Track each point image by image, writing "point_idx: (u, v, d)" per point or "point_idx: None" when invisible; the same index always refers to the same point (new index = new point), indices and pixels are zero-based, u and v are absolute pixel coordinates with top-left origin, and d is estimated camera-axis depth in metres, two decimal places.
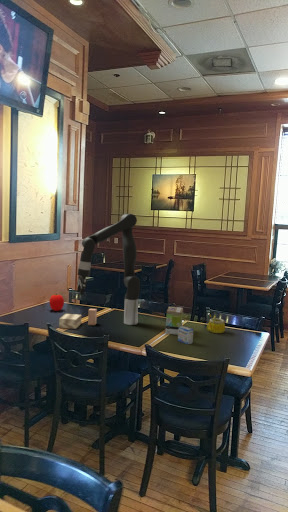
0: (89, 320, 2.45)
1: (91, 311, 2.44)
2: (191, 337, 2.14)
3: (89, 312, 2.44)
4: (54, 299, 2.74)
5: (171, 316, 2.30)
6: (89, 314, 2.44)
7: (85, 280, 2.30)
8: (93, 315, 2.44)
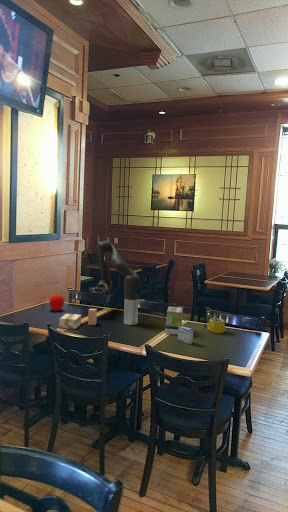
0: (89, 320, 2.45)
1: (91, 311, 2.44)
2: (191, 337, 2.14)
3: (89, 312, 2.44)
4: (54, 299, 2.74)
5: (171, 316, 2.30)
6: (89, 314, 2.44)
7: None
8: (93, 315, 2.44)
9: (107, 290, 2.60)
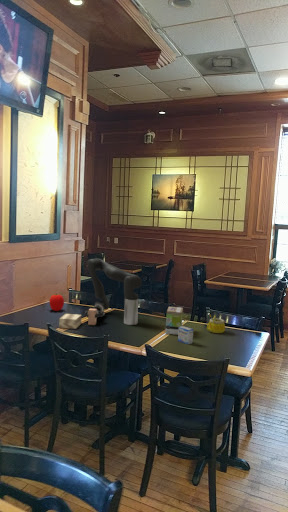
0: (89, 320, 2.45)
1: (91, 311, 2.44)
2: (191, 337, 2.14)
3: (89, 312, 2.44)
4: (54, 299, 2.74)
5: (171, 316, 2.30)
6: (89, 314, 2.44)
7: (85, 312, 2.53)
8: (93, 315, 2.44)
9: (100, 314, 2.48)
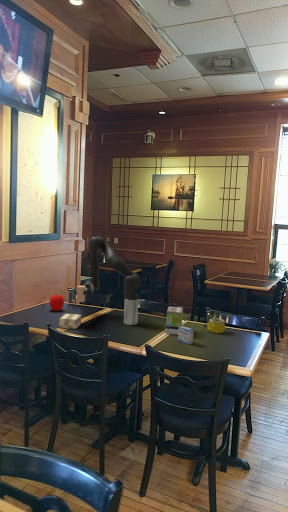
0: (77, 297, 2.41)
1: (79, 288, 2.40)
2: (191, 337, 2.14)
3: (77, 289, 2.40)
4: (54, 299, 2.74)
5: (171, 316, 2.30)
6: (77, 291, 2.40)
7: (74, 289, 2.50)
8: (81, 292, 2.40)
9: (89, 291, 2.44)
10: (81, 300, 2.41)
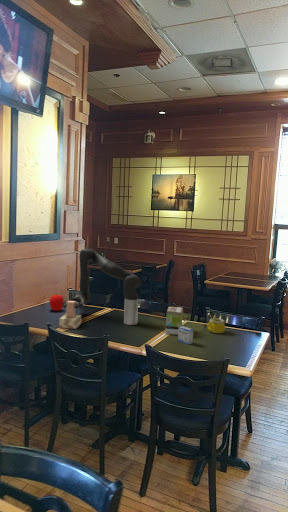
0: (67, 313, 2.38)
1: (69, 303, 2.38)
2: (191, 337, 2.14)
3: (67, 304, 2.38)
4: (54, 299, 2.74)
5: (171, 316, 2.30)
6: (67, 306, 2.38)
7: None
8: (71, 307, 2.38)
9: (81, 304, 2.42)
10: (71, 315, 2.38)
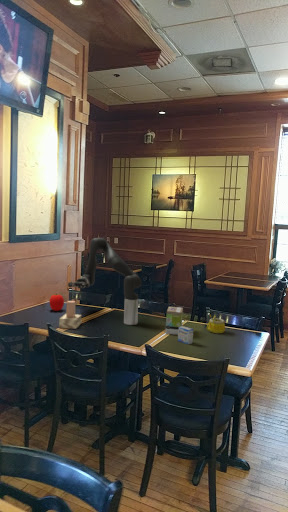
0: (67, 313, 2.38)
1: (69, 303, 2.38)
2: (191, 337, 2.14)
3: (67, 304, 2.38)
4: (54, 299, 2.74)
5: (171, 316, 2.30)
6: (67, 306, 2.38)
7: None
8: (71, 307, 2.38)
9: (87, 284, 2.54)
10: (71, 315, 2.38)
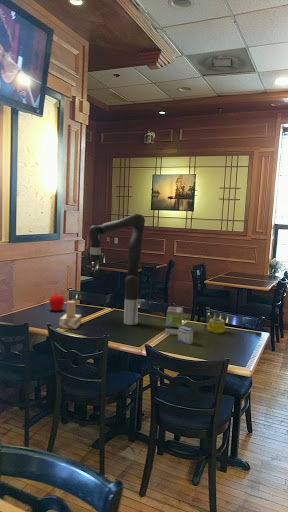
0: (67, 313, 2.38)
1: (69, 303, 2.38)
2: (191, 337, 2.14)
3: (67, 304, 2.38)
4: (54, 299, 2.74)
5: (171, 316, 2.30)
6: (67, 306, 2.38)
7: (93, 264, 2.53)
8: (71, 307, 2.38)
9: (97, 268, 2.67)
10: (71, 315, 2.38)
